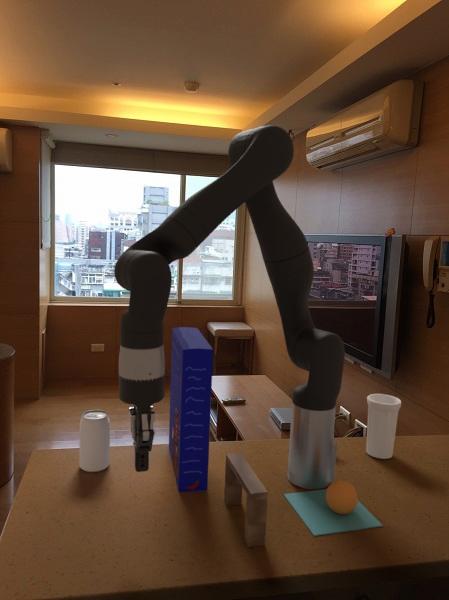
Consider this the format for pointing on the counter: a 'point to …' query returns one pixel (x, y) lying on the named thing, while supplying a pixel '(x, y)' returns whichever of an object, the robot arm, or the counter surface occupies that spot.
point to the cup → (381, 424)
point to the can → (94, 441)
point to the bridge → (257, 497)
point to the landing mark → (328, 514)
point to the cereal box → (190, 408)
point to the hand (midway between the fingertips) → (141, 469)
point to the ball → (341, 497)
